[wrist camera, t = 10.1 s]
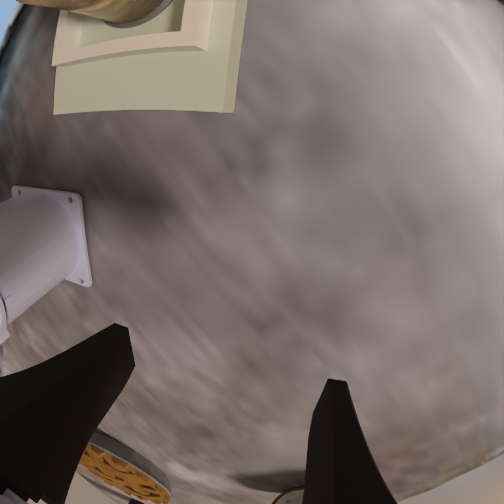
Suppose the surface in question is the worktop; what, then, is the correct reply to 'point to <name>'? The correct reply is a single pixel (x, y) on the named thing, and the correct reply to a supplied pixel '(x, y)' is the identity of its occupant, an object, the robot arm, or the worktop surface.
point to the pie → (125, 469)
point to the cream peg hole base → (151, 59)
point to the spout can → (104, 8)
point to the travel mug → (135, 502)
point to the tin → (290, 496)
